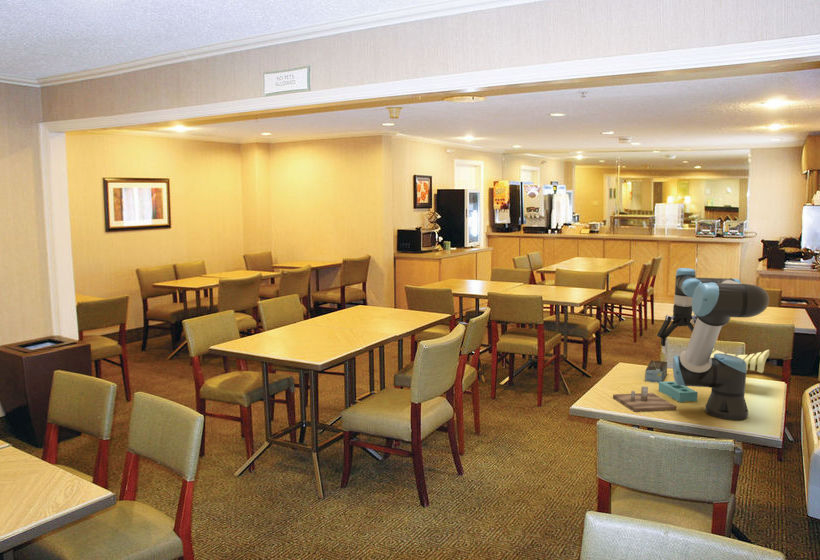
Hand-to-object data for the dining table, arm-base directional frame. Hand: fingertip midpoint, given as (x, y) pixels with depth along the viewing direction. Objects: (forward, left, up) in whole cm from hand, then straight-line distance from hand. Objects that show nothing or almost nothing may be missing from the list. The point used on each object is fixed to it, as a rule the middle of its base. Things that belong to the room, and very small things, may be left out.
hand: (679, 352), depth 274 cm
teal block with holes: (-3, +2, -18) cm, 18 cm away
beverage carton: (+25, -5, -19) cm, 31 cm away
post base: (-11, +22, -18) cm, 30 cm away
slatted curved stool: (+8, -29, -18) cm, 36 cm away
